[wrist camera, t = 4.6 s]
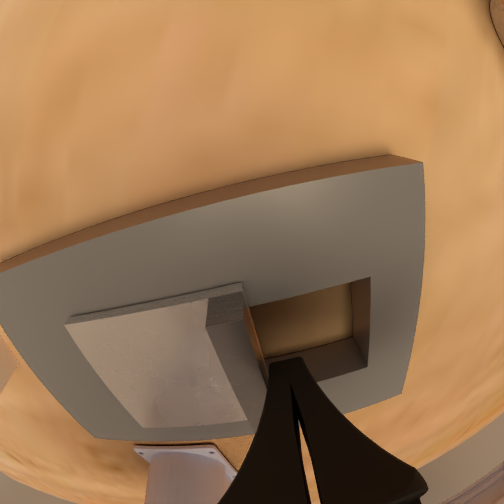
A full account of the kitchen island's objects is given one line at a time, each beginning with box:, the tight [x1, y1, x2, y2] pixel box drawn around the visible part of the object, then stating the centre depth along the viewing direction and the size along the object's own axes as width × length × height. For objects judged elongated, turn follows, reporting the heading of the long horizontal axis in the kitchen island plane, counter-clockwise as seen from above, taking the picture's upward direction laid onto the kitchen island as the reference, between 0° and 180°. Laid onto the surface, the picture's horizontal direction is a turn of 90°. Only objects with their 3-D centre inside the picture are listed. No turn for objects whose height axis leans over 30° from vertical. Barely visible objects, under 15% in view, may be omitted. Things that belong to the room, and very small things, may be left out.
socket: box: [0, 155, 425, 441], centre depth 13 cm, size 14×22×2 cm, turn 103°
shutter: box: [64, 282, 269, 434], centre depth 11 cm, size 8×8×2 cm
